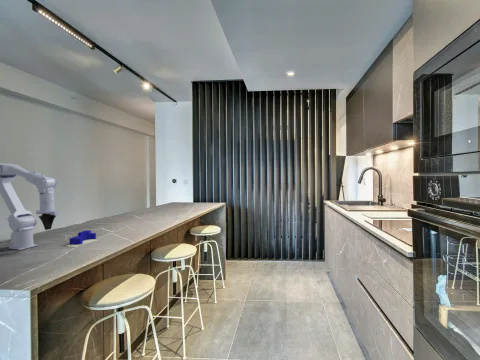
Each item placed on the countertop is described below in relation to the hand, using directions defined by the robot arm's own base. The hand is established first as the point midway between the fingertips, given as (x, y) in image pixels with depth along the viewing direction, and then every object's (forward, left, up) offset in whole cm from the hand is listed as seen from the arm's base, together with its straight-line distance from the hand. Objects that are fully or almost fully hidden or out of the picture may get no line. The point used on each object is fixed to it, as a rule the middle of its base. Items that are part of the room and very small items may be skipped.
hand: (48, 229), depth 126 cm
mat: (+8, +12, -9) cm, 17 cm away
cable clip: (+2, +13, -7) cm, 15 cm away
